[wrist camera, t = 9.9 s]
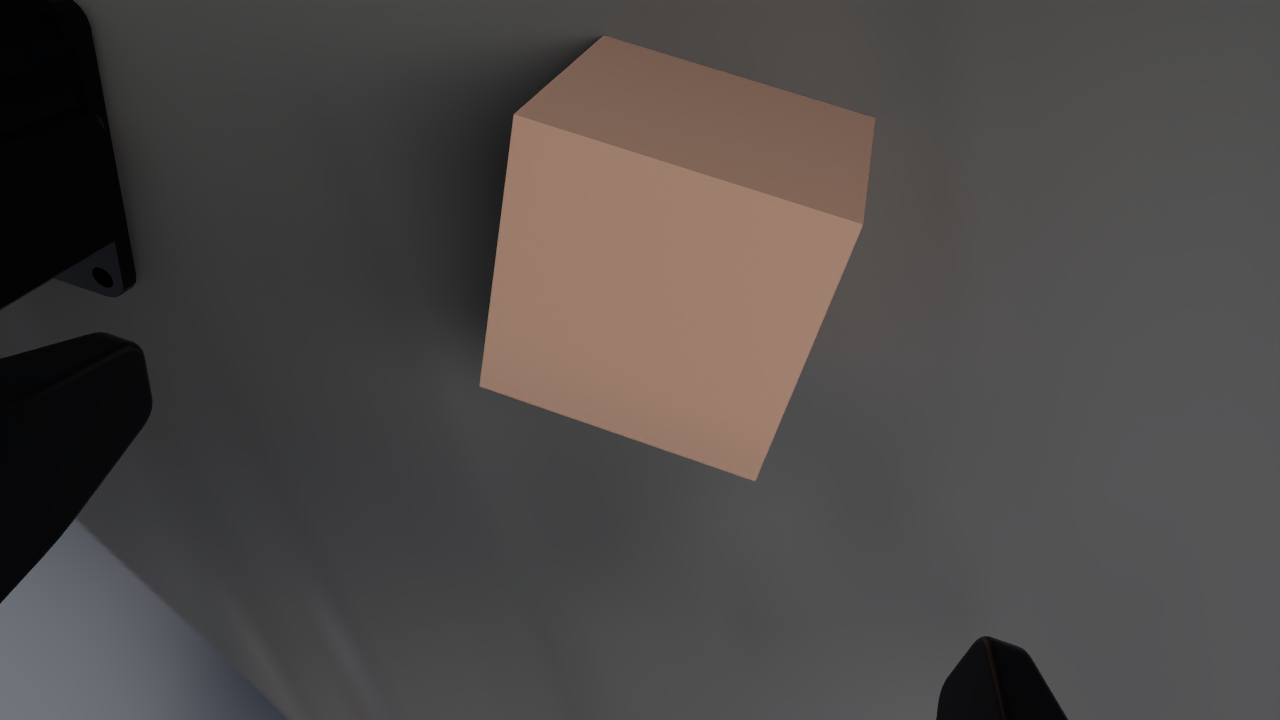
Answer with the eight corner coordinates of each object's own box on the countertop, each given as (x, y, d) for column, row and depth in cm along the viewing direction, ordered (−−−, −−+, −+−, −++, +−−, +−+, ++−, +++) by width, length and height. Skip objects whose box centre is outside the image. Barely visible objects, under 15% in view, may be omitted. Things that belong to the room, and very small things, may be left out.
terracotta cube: (562, 266, 17) (479, 386, 13) (605, 34, 14) (513, 113, 11) (786, 340, 16) (755, 481, 13) (875, 115, 13) (863, 224, 10)
